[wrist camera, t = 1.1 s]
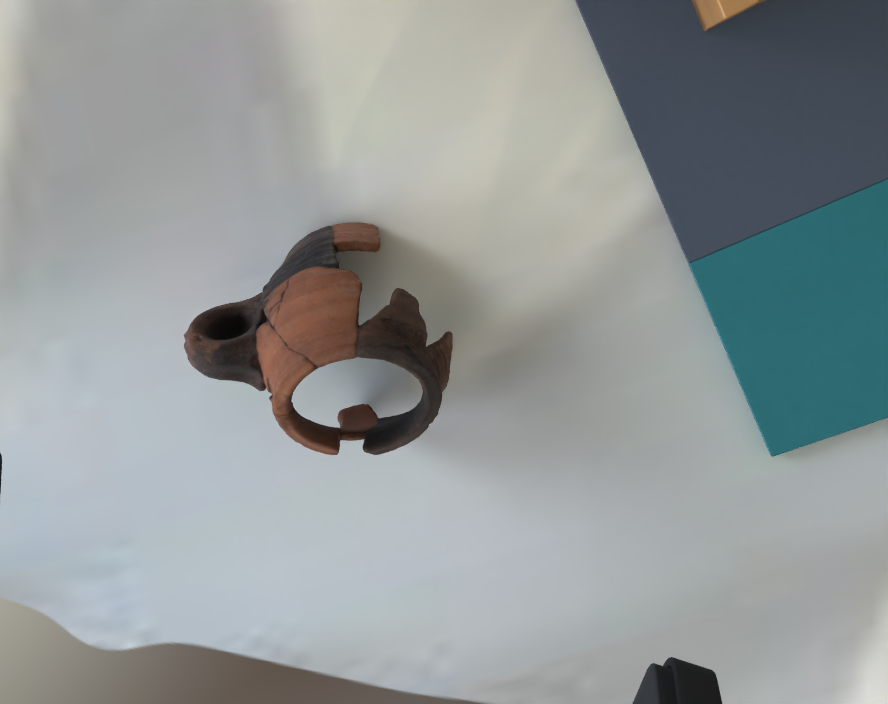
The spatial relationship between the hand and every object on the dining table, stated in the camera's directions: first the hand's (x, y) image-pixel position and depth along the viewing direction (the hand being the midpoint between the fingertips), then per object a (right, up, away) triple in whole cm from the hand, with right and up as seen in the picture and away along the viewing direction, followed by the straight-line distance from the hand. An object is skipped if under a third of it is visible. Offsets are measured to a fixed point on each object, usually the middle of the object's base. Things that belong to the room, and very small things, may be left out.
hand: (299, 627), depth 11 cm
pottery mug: (-3, +5, +28) cm, 29 cm away
